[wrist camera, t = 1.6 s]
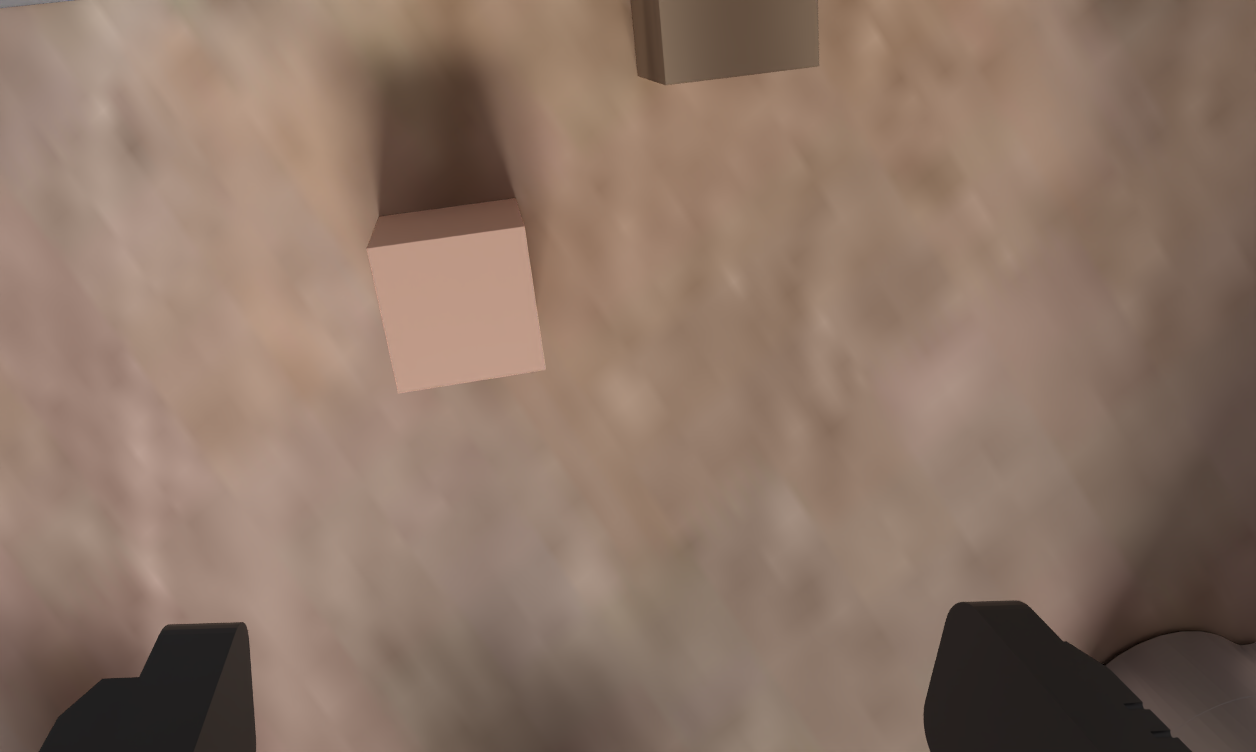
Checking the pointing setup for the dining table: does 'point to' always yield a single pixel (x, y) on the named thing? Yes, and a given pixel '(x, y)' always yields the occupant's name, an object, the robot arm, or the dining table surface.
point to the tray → (25, 2)
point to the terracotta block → (456, 294)
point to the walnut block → (723, 38)
